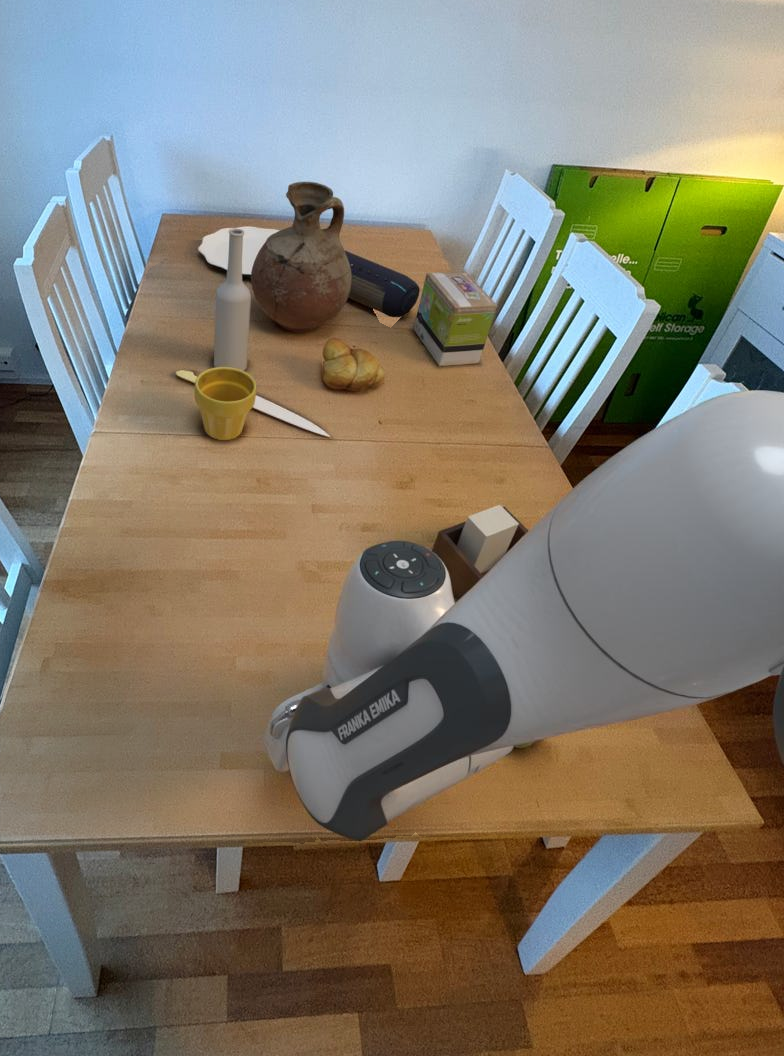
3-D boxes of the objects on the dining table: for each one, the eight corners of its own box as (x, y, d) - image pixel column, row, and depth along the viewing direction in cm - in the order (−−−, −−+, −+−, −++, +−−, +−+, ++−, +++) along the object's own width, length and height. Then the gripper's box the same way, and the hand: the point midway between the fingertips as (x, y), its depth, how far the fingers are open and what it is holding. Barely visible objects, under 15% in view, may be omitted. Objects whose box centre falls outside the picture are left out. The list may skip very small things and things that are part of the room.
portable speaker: (310, 289, 160) (314, 251, 154) (333, 277, 167) (339, 240, 161) (397, 329, 150) (406, 289, 143) (418, 314, 156) (427, 276, 150)
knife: (337, 432, 119) (326, 442, 115) (187, 369, 129) (172, 376, 126) (338, 426, 118) (328, 436, 115) (187, 363, 129) (173, 370, 125)
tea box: (411, 330, 150) (425, 271, 141) (450, 328, 152) (467, 270, 143) (438, 367, 139) (455, 305, 129) (480, 364, 141) (500, 304, 132)
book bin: (565, 615, 92) (583, 585, 88) (498, 649, 86) (514, 618, 82) (491, 536, 102) (504, 506, 98) (427, 562, 97) (438, 531, 92)
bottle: (251, 359, 133) (260, 228, 116) (240, 377, 128) (248, 242, 111) (220, 352, 134) (224, 220, 117) (208, 369, 129) (211, 234, 112)
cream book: (500, 565, 97) (519, 523, 91) (469, 578, 94) (486, 536, 88) (482, 545, 99) (499, 504, 94) (451, 558, 97) (467, 516, 91)
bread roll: (382, 373, 135) (389, 340, 130) (382, 401, 127) (390, 367, 122) (320, 365, 135) (325, 331, 130) (317, 392, 127) (322, 358, 122)
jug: (228, 317, 146) (234, 182, 127) (291, 288, 159) (305, 163, 141) (302, 358, 136) (320, 218, 117) (363, 324, 150) (387, 194, 131)
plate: (332, 258, 175) (334, 250, 174) (269, 296, 155) (269, 287, 154) (245, 225, 187) (246, 217, 185) (175, 257, 166) (175, 248, 165)
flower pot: (264, 423, 118) (268, 379, 112) (233, 455, 110) (235, 410, 104) (215, 403, 121) (216, 359, 115) (182, 433, 113) (181, 387, 107)
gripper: (288, 748, 56) (276, 813, 65) (471, 657, 65) (439, 725, 73) (257, 685, 60) (249, 754, 69) (433, 607, 69) (406, 677, 78)
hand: (348, 738), depth 71 cm, fingers closed on supplement box, 6 cm apart
